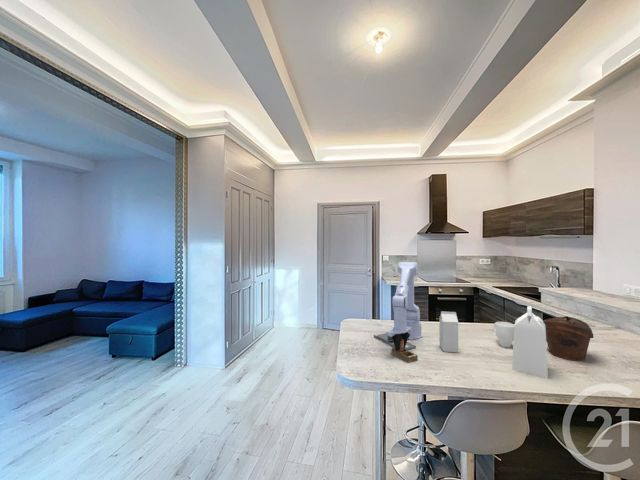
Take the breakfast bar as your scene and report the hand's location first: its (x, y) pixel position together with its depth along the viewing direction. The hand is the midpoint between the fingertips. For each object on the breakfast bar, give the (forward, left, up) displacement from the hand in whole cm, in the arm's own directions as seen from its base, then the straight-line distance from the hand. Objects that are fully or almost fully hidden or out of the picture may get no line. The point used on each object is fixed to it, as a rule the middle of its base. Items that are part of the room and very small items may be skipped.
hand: (400, 348), depth 129 cm
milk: (-40, +35, -3) cm, 53 cm away
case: (-71, +35, -3) cm, 80 cm away
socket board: (0, +3, -3) cm, 4 cm away
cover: (-8, -17, -2) cm, 19 cm away
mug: (-57, +14, -3) cm, 59 cm away
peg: (0, 0, -2) cm, 2 cm away
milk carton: (-26, +6, -3) cm, 27 cm away
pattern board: (-8, -14, -3) cm, 16 cm away
